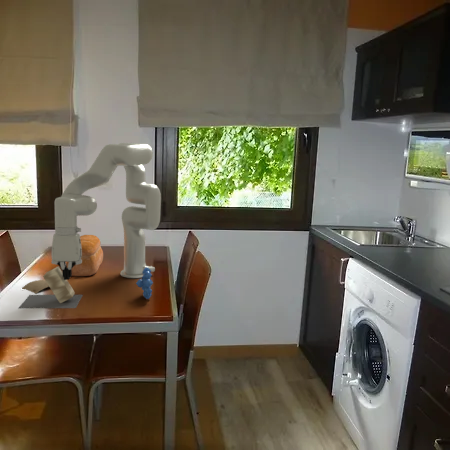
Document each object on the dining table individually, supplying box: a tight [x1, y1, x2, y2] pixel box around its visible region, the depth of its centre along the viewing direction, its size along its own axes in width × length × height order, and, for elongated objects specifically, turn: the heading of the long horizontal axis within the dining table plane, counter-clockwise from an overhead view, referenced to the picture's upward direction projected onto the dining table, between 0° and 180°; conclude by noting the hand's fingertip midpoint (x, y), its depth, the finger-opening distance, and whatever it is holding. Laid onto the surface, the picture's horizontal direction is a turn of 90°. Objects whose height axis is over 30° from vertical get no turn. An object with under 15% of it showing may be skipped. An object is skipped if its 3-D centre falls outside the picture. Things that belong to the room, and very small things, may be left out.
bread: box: [66, 234, 104, 277], centre depth 207 cm, size 14×26×15 cm, turn 7°
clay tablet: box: [21, 279, 50, 295], centre depth 179 cm, size 14×10×3 cm
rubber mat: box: [18, 294, 84, 309], centre depth 165 cm, size 20×14×1 cm
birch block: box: [42, 265, 76, 303], centre depth 164 cm, size 5×5×12 cm
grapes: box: [135, 267, 154, 300], centre depth 173 cm, size 12×7×12 cm, turn 14°
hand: (67, 278), depth 164 cm, fingers closed
